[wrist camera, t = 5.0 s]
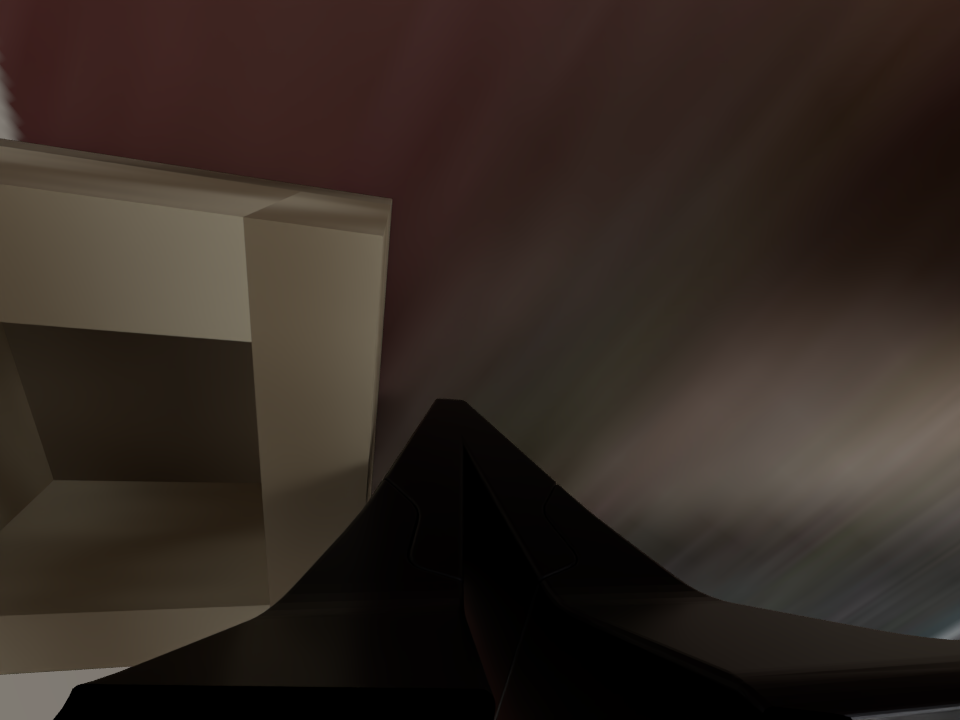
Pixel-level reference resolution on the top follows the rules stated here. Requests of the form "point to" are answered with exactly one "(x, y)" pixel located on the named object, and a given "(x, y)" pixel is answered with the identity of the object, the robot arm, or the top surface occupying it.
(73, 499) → the sliding block
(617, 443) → the top surface
